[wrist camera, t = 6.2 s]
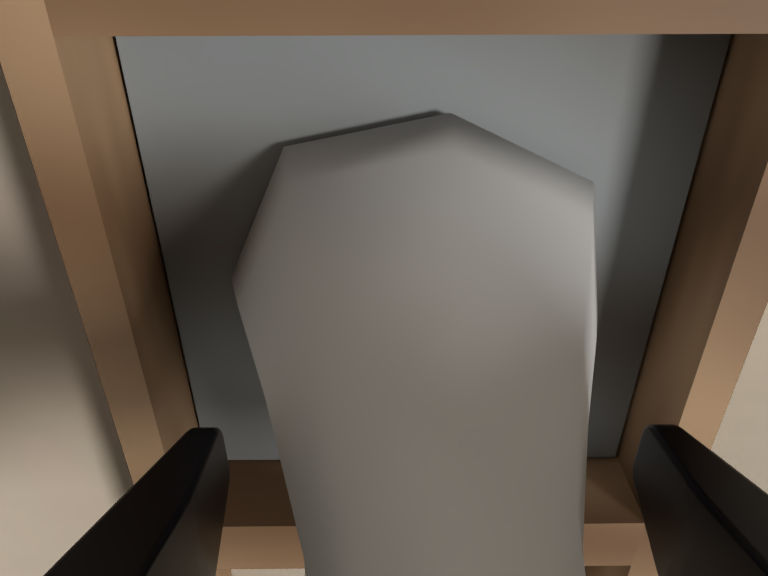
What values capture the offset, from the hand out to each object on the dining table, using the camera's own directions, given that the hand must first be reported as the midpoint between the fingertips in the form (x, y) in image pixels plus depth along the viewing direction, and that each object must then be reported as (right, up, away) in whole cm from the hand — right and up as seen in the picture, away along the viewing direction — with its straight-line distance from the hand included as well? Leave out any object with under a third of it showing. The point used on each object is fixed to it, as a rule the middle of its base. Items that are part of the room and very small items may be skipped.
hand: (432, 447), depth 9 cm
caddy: (0, -2, +7) cm, 7 cm away
